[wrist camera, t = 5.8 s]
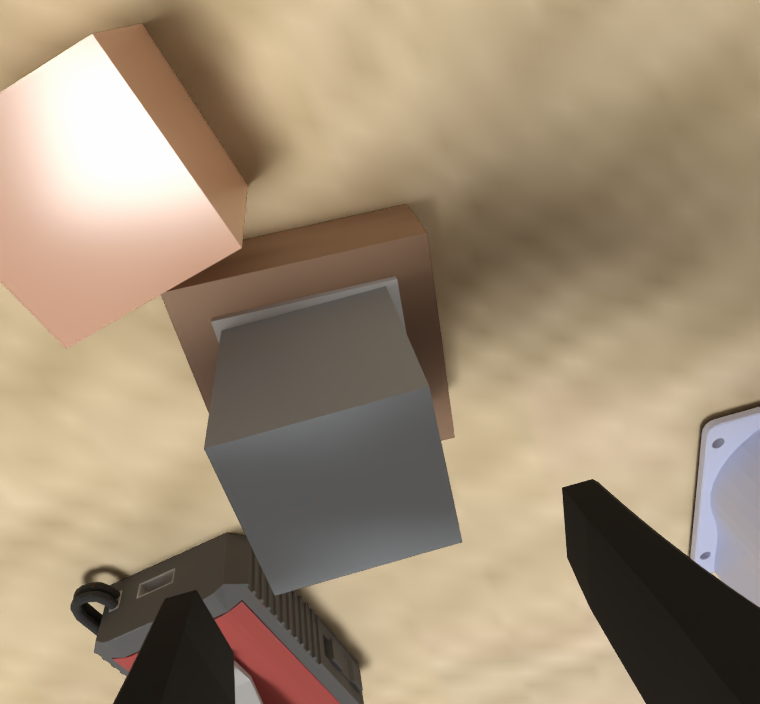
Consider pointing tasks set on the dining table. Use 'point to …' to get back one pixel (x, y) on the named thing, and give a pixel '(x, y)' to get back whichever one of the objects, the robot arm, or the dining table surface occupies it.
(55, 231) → the terracotta cube
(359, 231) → the walnut block
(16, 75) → the dining table surface
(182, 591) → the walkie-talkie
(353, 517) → the slate cube
